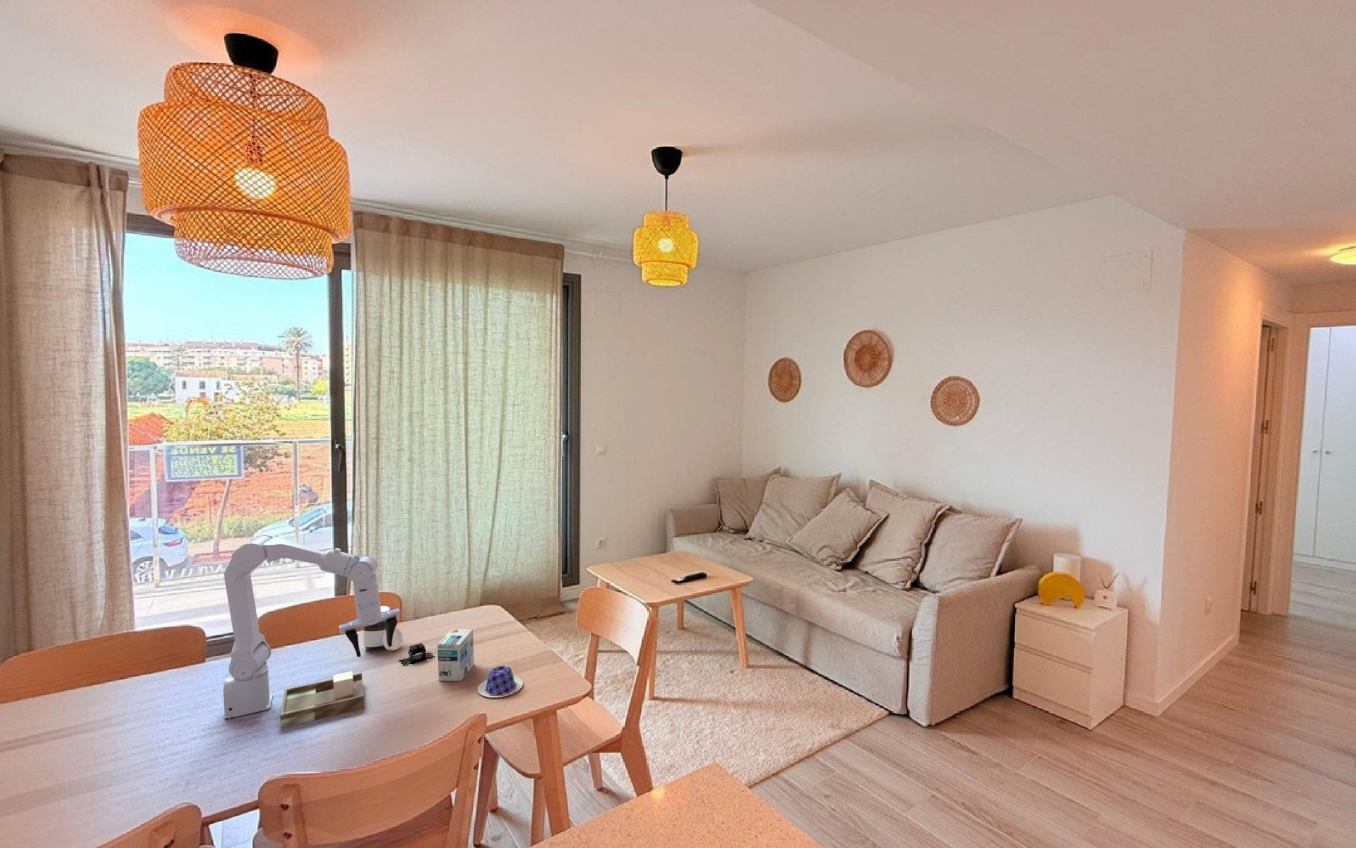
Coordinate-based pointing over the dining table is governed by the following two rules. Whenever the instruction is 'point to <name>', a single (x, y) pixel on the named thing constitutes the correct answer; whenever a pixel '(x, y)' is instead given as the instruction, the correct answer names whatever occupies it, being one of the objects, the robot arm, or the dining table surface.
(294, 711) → the brown shallow open box
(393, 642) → the spread jar
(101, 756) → the dining table surface
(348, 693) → the cream block
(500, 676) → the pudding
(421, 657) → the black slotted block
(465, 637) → the light bulb box
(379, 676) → the dining table surface
